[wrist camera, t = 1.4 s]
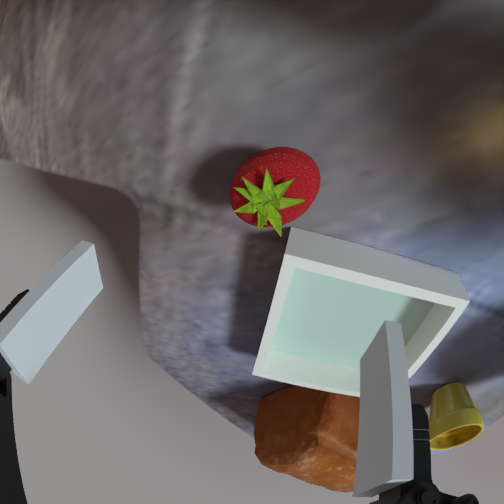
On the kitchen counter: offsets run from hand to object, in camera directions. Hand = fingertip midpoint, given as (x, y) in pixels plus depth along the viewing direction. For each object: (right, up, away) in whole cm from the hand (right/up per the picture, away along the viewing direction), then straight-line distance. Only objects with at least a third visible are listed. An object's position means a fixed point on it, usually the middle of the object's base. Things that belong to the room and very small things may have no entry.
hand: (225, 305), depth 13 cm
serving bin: (+13, -6, +23) cm, 27 cm away
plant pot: (+36, -22, +28) cm, 50 cm away
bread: (+16, -28, +37) cm, 49 cm away
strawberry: (+4, +10, +15) cm, 19 cm away
